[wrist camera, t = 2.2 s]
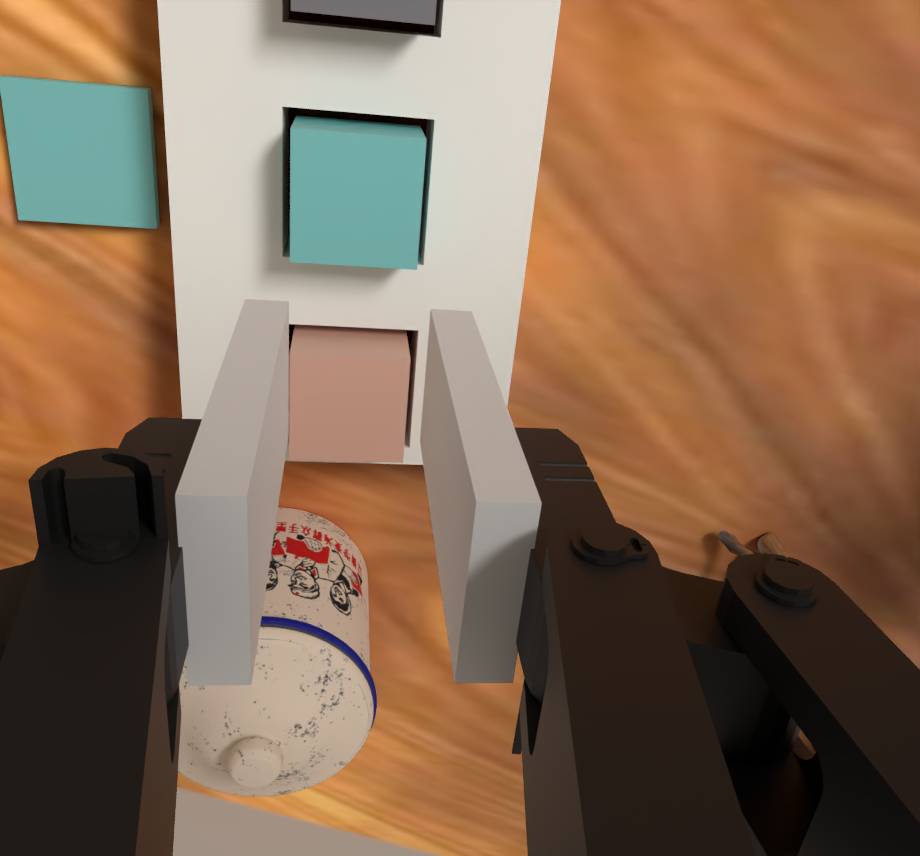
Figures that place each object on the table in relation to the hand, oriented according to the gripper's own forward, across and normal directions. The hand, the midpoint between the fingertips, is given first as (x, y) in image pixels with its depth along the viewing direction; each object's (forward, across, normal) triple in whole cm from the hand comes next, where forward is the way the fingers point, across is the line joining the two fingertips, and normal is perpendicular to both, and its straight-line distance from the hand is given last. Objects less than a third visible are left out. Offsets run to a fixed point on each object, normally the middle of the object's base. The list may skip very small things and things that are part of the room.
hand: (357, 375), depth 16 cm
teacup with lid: (+20, -4, -19) cm, 28 cm away
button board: (+20, 0, 0) cm, 20 cm away
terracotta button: (+18, 0, -8) cm, 19 cm away
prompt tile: (+20, -10, 0) cm, 22 cm away
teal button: (+18, 0, 0) cm, 18 cm away
